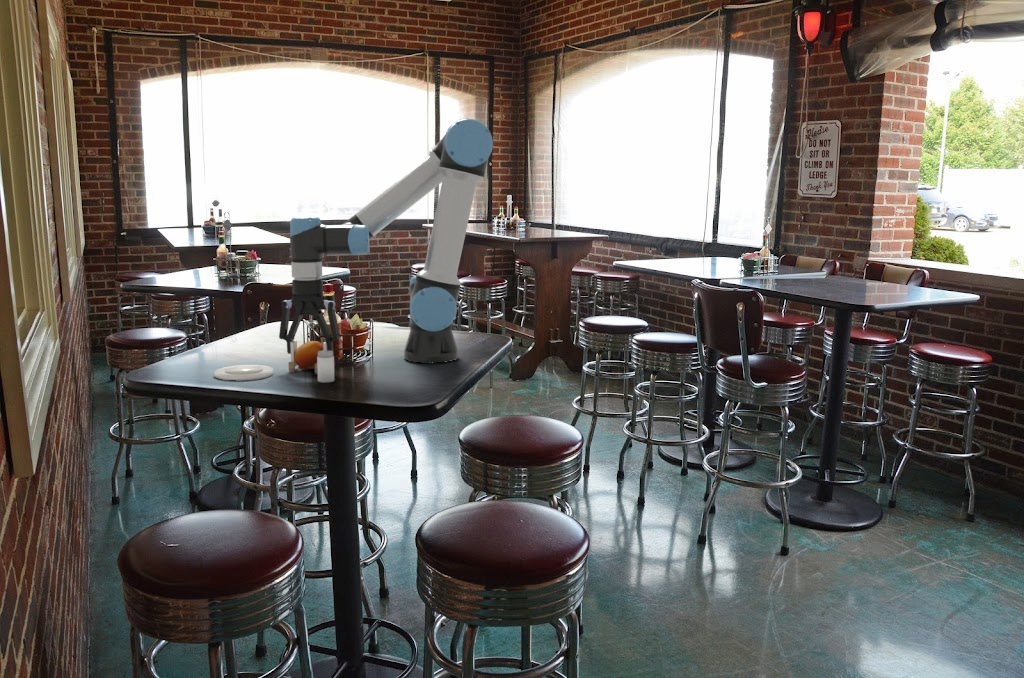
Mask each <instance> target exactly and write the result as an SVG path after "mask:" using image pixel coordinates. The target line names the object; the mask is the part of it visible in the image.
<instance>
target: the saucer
mask: <svg viewBox="0 0 1024 678" xmlns="http://www.w3.org/2000/svg"><path fill="white" fill-rule="evenodd" d="M273 375H274V368H273V367H271V366H269V365H263V364H262V365H261V364H236V365H230V366H224V367H220V368H217V369H215V370H214V378H215V377H216V378H215V379H217V378H218V380H221V379H222V381H229V380H236V381H235V382H243V381H254V380H255V381H256V380H260V379H265V378H270V377H271V376H273Z"/></svg>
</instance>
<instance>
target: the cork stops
mask: <svg viewBox="0 0 1024 678" xmlns="http://www.w3.org/2000/svg"><path fill="white" fill-rule="evenodd" d="M297 367H298V368H300V367H299V366H298V365H297ZM288 373H289V374H292V373H296V366H295V362H291V361H289V362H288ZM314 374H315V375H318V372H317V363H315V368H314Z"/></svg>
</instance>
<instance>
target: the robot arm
mask: <svg viewBox="0 0 1024 678" xmlns="http://www.w3.org/2000/svg"><path fill="white" fill-rule="evenodd" d="M493 147H494V141H493V136H492V133H491V132H490V130H489V128H488V127H487V126H486V125H485V123H483V122H481V121H480V120H477V119H475V118H468V117H466V118H460V119H457V120H456V121H455V122H454V121H453V123H452V124H451V125H449V127H448V129H447V131H446V133H445V134H444V135H443V137H442V138H441V139H440V140H439V141H438V142H437V143H436V144H435V145H434V146H433V147H432V148H430V149H429V153H428V156H426V157H425V158H424V159H422V161H420V162H419V163H418V164H417V165H415V166H414V167H413V168H412V169H409V171H407V172H406V173H405V174H404V175H402V176H401V177H400V178H398V180H396V181H395V182H393V184H391V185H390V186H389V187H387V188H386V189H385V190H384V191H383V192H382V193H380V194H379V195H378V196H376V197H375V198H374V199H373V200H371V201H370V202H369V203H368V204H366V205H365V206H363V208H362V209H359V211H357V212H356V213H355V214H354V215H352V216H351V217H350V218H349V219H348V220H346V221H344V223H342V224H331V225H330V224H328V225H327V224H322V222H321V219H320V218H319V217H318V216H296V217H292V218H291V220H290V221H289V227H290V228H289V243H290V245H289V246H290V258H291V259H290V260H291V278H293V279H292V280H291V281H292V282H291V285H292V290H291V291H292V297H291V299H289V300H288V299H285V300H282V301H281V302H280V306H281V318H280V326H279V333H278V334H279V335H278V338H279V339H280V340H284V341H286V348H287V349H286V352H287V354H289V355H290V362H295V353H296V351H297V348H298V340H296V338H295V337H296V335H297V332H298V329H299V325H300V324H301V321H302V318H303V317H304V316H307V315H308V316H313V318H314V319H315V320H316V322H317V324H318V326H319V328H320V331H321V334H322V335H323V337H324V340H325V341H324V342H322V345H323V350H330V351H333V352H334V341H337V340H339V339H340V338H341V333H340V328H339V324H338V319H337V313H336V305H337V303H336V301H335V300H327V299H325V296H324V287H323V286H324V283H323V280H322V277H323V258H322V255H326V256H328V255H330V256H331V255H333V256H335V255H337V256H340V255H341V256H349V255H350V256H360V255H367V254H369V252H370V240H371V239H372V238H373V237H375V236H376V235H377V234H378V233H379V232H381V231H382V230H383V229H385V228H386V227H387V226H388V225H389V224H391V223H392V222H393V221H395V220H396V219H397V218H399V217H400V216H401V215H402V214H404V213H405V212H406V211H408V210H409V209H410V208H411V207H413V206H414V205H415V204H417V202H419V201H420V200H421V199H423V198H424V197H425V196H426V195H428V194H429V193H430V192H432V191H433V190H434V189H436V188H437V187H438V186H440V192H439V195H438V200H437V205H436V210H435V215H434V219H433V225H432V227H431V234H430V239H429V242H428V243H429V244H428V248H427V253H426V258H425V261H424V267H423V268H422V269H421V270H419V272H417V273H416V276H412V277H411V278H410V280H409V287H408V288H409V325H410V327H409V335H408V336H407V337H408V338H407V340H406V343H405V346H404V349H403V359H404V360H405V359H406V360H405V361H407V360H408V361H407V362H411V361H412V362H411V363H416V362H421V363H420V364H437V363H436V362H445V361H450V360H454V359H456V358H458V359H459V349H458V346H457V345H458V344H457V342H456V338H455V336H454V333H453V321H455V318H456V316H457V311H458V308H457V307H458V306H457V303H458V298H459V294H460V289H461V285H462V283H461V281H460V279H459V278H458V270H459V266H460V262H461V256H462V252H463V248H464V242H465V239H466V233H467V229H468V224H469V221H470V216H471V210H472V205H473V201H474V197H475V192H476V188H477V184H478V183H479V182H481V181H482V180H484V178H485V174H486V170H487V166H488V160H489V158H490V156H491V155H492V151H493ZM440 184H441V185H440ZM292 306H293V307H294V308H295V310H296V311H295V312H294V316H293V317H294V318H293V319H292V322H291V325H290V327H289V323H290V322H289V321H290V314H291V308H292ZM324 306H325V309H326V310H327V316H328V322H329V325H328V323H327V320H326V319H325V317H324V313H323V311H322V308H323V307H324ZM329 326H330V327H329ZM430 362H431V363H430ZM432 362H433V363H432ZM445 363H446V362H445ZM295 367H298V365H297V364H296V363H295Z"/></svg>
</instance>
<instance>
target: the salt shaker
mask: <svg viewBox="0 0 1024 678" xmlns="http://www.w3.org/2000/svg"><path fill="white" fill-rule="evenodd" d="M317 372H318V374H317V382H319V383H332V382H334V381H335V356H334V350H333V351H330V350H322V351H318V356H317Z"/></svg>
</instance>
